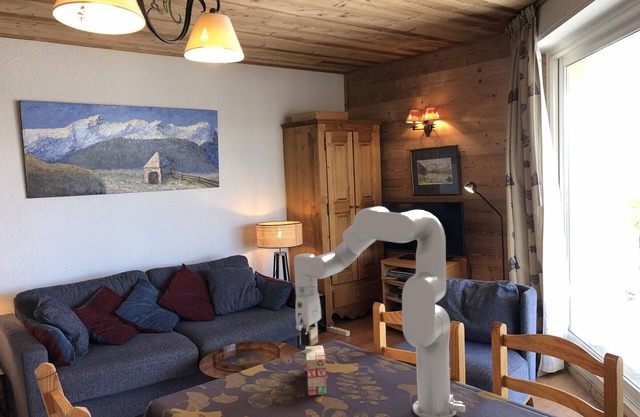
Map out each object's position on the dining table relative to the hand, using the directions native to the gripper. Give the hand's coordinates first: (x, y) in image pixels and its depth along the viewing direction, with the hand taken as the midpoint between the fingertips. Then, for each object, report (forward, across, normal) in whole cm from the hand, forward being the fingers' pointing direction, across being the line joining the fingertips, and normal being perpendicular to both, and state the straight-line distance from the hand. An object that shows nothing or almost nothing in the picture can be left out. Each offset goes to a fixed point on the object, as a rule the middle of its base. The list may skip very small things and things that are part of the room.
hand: (309, 341), depth 173 cm
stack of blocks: (+15, +2, -1) cm, 15 cm away
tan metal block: (0, 0, 0) cm, 0 cm away
